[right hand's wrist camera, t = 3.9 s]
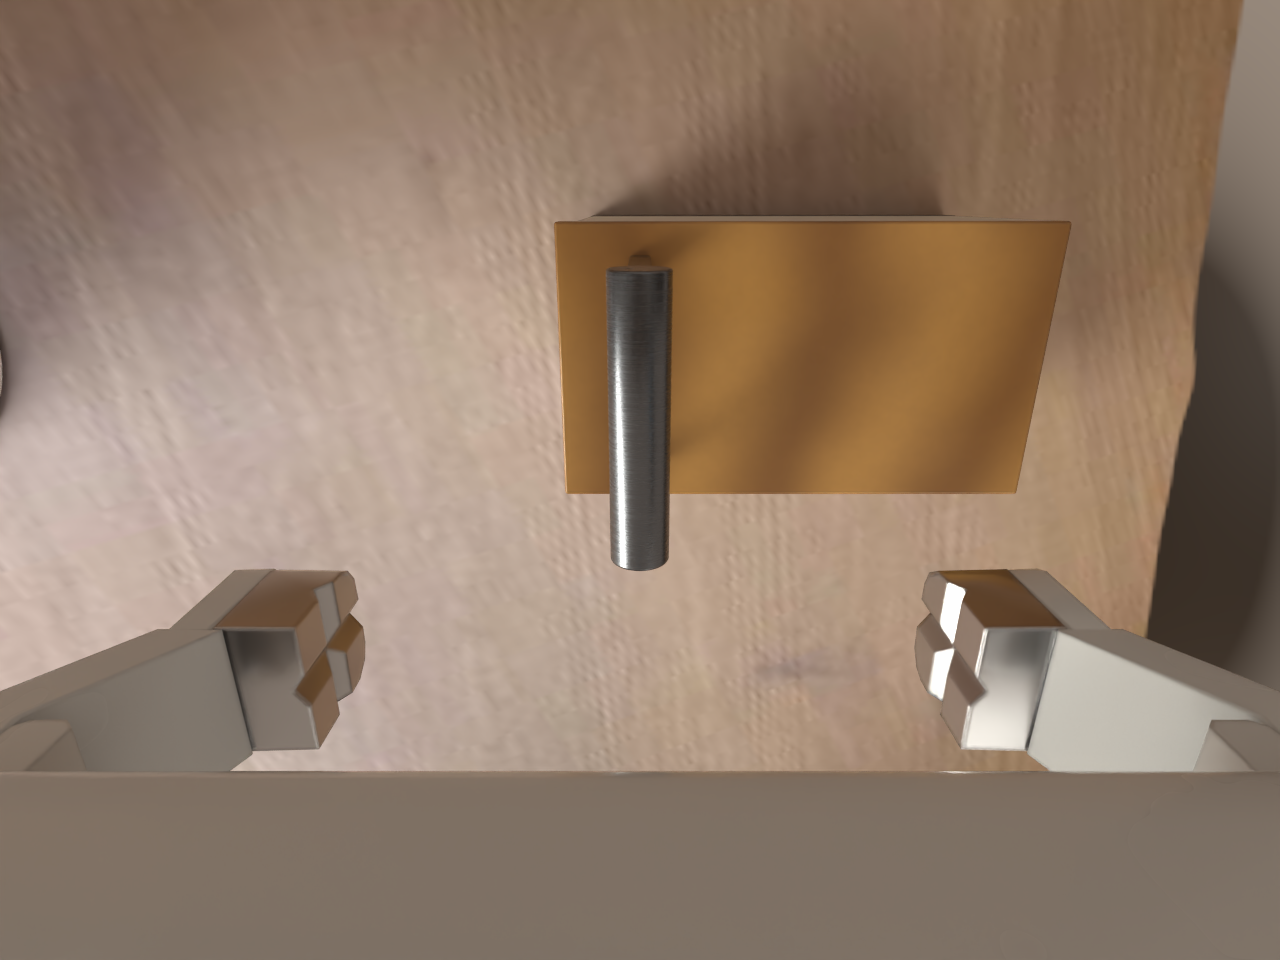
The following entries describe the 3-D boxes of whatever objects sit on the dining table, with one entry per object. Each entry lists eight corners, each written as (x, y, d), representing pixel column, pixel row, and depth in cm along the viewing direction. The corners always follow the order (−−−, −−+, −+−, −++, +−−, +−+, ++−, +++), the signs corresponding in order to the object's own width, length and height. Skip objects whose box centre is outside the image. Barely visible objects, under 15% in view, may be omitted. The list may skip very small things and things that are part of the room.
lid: (567, 486, 28) (537, 599, 20) (556, 221, 24) (515, 230, 16) (1005, 486, 28) (1151, 600, 20) (1058, 220, 24) (1262, 230, 16)
